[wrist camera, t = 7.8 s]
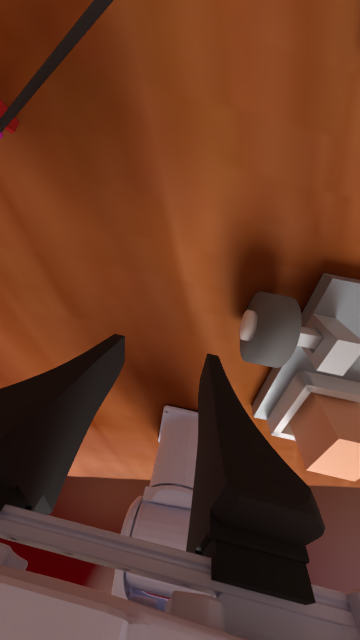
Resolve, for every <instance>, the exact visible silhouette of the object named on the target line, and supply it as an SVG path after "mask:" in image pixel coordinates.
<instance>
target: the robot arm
mask: <svg viewBox="0 0 360 640" xmlns="http://www.w3.org/2000/svg"><path fill="white" fill-rule="evenodd" d="M124 362H125V336H122V335H117V334H114V335H112V336H111V337H109V338H107V339H106V340H104V341H103V342H101V343H100V344H98V345H96V346H95V347H93V348H91V349H90V350H88V351H86V352H85V353H83V354H81V355H79V356H78V357H76V358H74V359H72V360H70V361H68V362H66V363H65V364H62V365H60V366H58V367H56V368H54V369H52V370H49V371H47V372H45V373H42V374H40V375H37V376H35V377H32V378H30V379H27V380H25V381H22V382H19V383H16V384H13V385H10V386H7V387H4V388H1V389H0V538H3V539H7V540H10V541H14V542H18V543H21V544H25V545H29V546H32V547H36V548H40V549H43V550H47V551H51V552H55V553H59V554H62V555H66V556H69V557H73V558H77V559H80V560H84V561H88V562H91V563H95V564H99V565H102V566H106V567H110V568H114V569H115V576H114V582H113V588H112V593H111V594H107V593H104V592H101V591H97V590H94V589H91V588H87V587H84V586H80V585H77V584H73V583H70V582H66V581H63V580H59V579H55V578H52V577H48V576H44V575H40V574H37V573H33V572H29V571H25V569H26V567H27V565H28V563H27V561H26V560H24V559H23V558H21V557H19V556H18V555H16V554H15V553H14V552H13V551H12V550H11V547H10V546H7V545H5V544H2V543H0V640H360V589H357V590H351V591H349V592H348V593H347V594H346V593H342V592H338V591H335V590H331V589H327V588H323V587H319V586H316V585H312V584H311V583H310V578H309V575H308V571H307V567H306V564H307V563H309V557H308V554H307V550H306V546H305V545H307V544H309V543H311V542H313V541H314V540H316V539H318V538H319V537H321V536H322V535H323V533H324V530H325V526H324V523H323V520H322V517H321V514H320V511H319V508H318V506H317V503H316V501H315V499H314V496H313V494H312V492H311V489H310V488H309V487H308V486H307V485H306V483H305V482H304V481H303V480H302V479H301V478H300V477H299V476H298V475H297V474H296V473H295V472H294V471H293V470H292V469H291V468H290V467H289V466H288V465H287V464H286V463H285V461H284V460H283V459H282V458H281V457H280V456H279V455H278V453H277V452H276V451H275V450H274V449H273V448H272V446H271V445H270V444H269V443H268V441H267V440H266V439H265V437H264V436H263V435H262V434H261V432H260V431H259V430H258V429H257V427H256V426H255V424H254V423H253V421H252V420H251V419H250V417H249V416H248V414H247V413H246V411H245V409H244V408H243V406H242V405H241V403H240V401H239V399H238V398H237V396H236V394H235V392H234V390H233V388H232V386H231V384H230V382H229V380H228V378H227V376H226V374H225V371H224V369H223V367H222V364H221V362H220V359H219V357H218V356H216V355H211V354H207V357H206V360H205V364H204V367H203V370H202V374H201V377H200V384H199V393H198V412H195V411H190V410H186V409H181V408H177V407H173V406H168V405H166V406H164V410H163V416H162V421H161V427H160V433H159V438H158V441H159V447H158V451H157V456H156V460H155V464H154V469H153V473H152V478H151V482H150V487H145V492H144V496H139V497H137V499H136V500H135V501H134V502H133V503H132V504H131V506H130V508H129V510H128V512H127V515H126V518H125V521H124V524H123V528H122V531H121V534H117V533H114V532H110V531H106V530H102V529H98V528H94V527H91V526H87V525H83V524H79V523H75V522H71V521H67V520H64V519H60V518H56V517H52V516H49V514H50V513H51V512H52V510H53V508H54V506H55V503H56V501H57V498H58V496H59V493H60V491H61V489H62V486H63V484H64V481H65V479H66V476H67V474H68V472H69V470H70V468H71V465H72V463H73V461H74V458H75V456H76V454H77V452H78V450H79V447H80V445H81V443H82V441H83V439H84V437H85V434H86V432H87V430H88V428H89V426H90V424H91V422H92V420H93V418H94V416H95V414H96V412H97V411H98V409H99V407H100V406H101V404H102V402H103V401H104V399H105V397H106V396H107V394H108V393H109V391H110V389H111V388H112V386H113V384H114V383H115V381H116V379H117V377H118V376H119V373H120V371H121V369H122V367H123V364H124ZM143 591H145V592H149V593H154V594H157V595H161V596H166V597H170V598H171V599H164V598H160V597H156V596H152V595H148V594H146V593H145V592H143Z"/></svg>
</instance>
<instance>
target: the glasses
mask: <svg viewBox="0 0 360 640" xmlns="http://www.w3.org/2000/svg"><path fill="white" fill-rule="evenodd" d="M112 1H113V0H94V1H93V2H92V3H91V5H90V6H89V7H88V8H87V10H86V11H85V12H84V13H83V15H82V16H81V17H80V18H79V20H78V21H77V22H76V23H75V25H74V26H73V27H72V29H71V30H70V31H69V32H68V34H67V35H66V36H65V37H64V39H63V40H62V41H61V42H60V44H59V45H58V46H57V47H56V49H55V50H54V51H53V52H52V54H51V55H50V56H49V58H48V59H47V60H46V61H45V63H44V64H43V65H42V66H41V68H40V69H39V70H38V71H37V73H36V74H35V75H34V76H33V78H32V79H31V80H30V82H29V83H28V84H27V85H26V87H25V88H24V89H23V90H22V92H21V93H20V94H19V95H18V97H17V98H16V99H15V100H14V102H13V103H12V104H11V105H10V107H9V108H7V107H6V105H5V104H4V103H3V102H2V101H1V99H0V139H1V138H2V137H3V133H2V131H3V130H4V129H5V130H7V131H9V132H11V133H12V134H13V133H14V132H15V130H16V128H17V126H18V124H19V122H18V121H17V119H16V118H15V116H16V115H17V114H18V113H19V111H20V110H21V109H22V108H23V107H24V105H25V104H26V103H27V102H28V101H29V99H30V98H31V97H32V96H33V95H34V94H35V92H36V91H37V90H38V89H39V88H40V86H41V85H42V84H43V83H44V82H45V80H46V79H47V78H48V77H49V76H50V75H51V73H52V72H53V71H54V70H55V69H56V67H57V66H58V65H59V64H60V63H61V62H62V60H63V59H64V58H65V57H66V56H67V54H68V53H69V52H70V51H71V50H72V49H73V47H74V46H75V45H76V44H77V43H78V42H79V40H80V39H81V38H82V37H83V36H84V34H85V33H86V32H87V31H88V30H89V29H90V27H91V26H92V25H93V24H94V23H95V21H96V20H97V19H98V18H99V17H100V16H101V14H102V13H103V12H104V11H105V10H106V8H107V7H108V6H109V5H110V4H111V2H112Z"/></svg>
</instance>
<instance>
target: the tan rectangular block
mask: <svg viewBox="0 0 360 640" xmlns="http://www.w3.org/2000/svg"><path fill="white" fill-rule="evenodd" d="M289 423H290V426H291V429H292V432H293V434H294V437H295V440H296V443H297V446H298V448H299V451H300V454H301V457H302V459H303V462H304V465H305V468H306V470H308V471H312V472H317V473H321V474H325V475H329V476H334V477H338V478H342V479H346V480H351V481H356V480H358V479H359V478H360V403H359V402H355V401H350V400H346V399H341V398H336V397H332V396H327V395H323V394H318V393H313V392H311V393H310V394H309V395H308V397H307V398H306V399H305V401H304V402H303V403H302V405H301V406H300V407H299V409H298V410H297V411H296V413H295V414H294V416H293V417H292V418H291V420H290V421H289Z"/></svg>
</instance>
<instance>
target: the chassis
mask: <svg viewBox="0 0 360 640" xmlns="http://www.w3.org/2000/svg"><path fill="white" fill-rule="evenodd" d="M301 317H302V324H301V327H306V328H311V329H316V330H319V331H320V332H321V333H322V335H323V336H324V338H323V339H322V341H321V342H320V344H319V345H318V347H317V348H316V349H311V348H307V347H302V346H296V349H295V351H294V353H293V355H292V356H291V358H290V359H289V361H288V362H287V363H286V364H285V365H283V366H282V367H279V368H274V367H273V368H272V370H271V371H270V373H269V375H268V377H267V379H266V381H265V383H264V384H263V386H262V388H261V390H260V392H259V394H258V396H257V397H256V399H255V401H254V403H253V405H252V412H253V417H256V418H260V419H265V420H267V421H268V425H269V429H270V433H271V435H273V436H278V437H282V438H286V439H291V440H295V437H294V434H293V432H292V429H291V426H290V423H289V421H290V420H291V418H292V417H293V416H294V414H295V413H296V411H297V410H298V409H299V407H300V406H301V405H302V403H303V402H304V401H305V399H306V398H307V397H308V395H309V394H310V393H311V392H313V393H318V394H323V395H327V396H332V397H336V398H341V399H346V400H350V401H355V402H359V403H360V280H357V279H352V278H347V277H341V276H336V275H331V274H325V273H323V275H322V277H321V279H320V281H319V282H318V284H317V286H316V288H315V290H314V292H313V294H312V295H311V297H310V299H309V301H308V303H307V305H306V307H305V308H304V310H303V312H302V314H301ZM295 441H296V440H295Z"/></svg>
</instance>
